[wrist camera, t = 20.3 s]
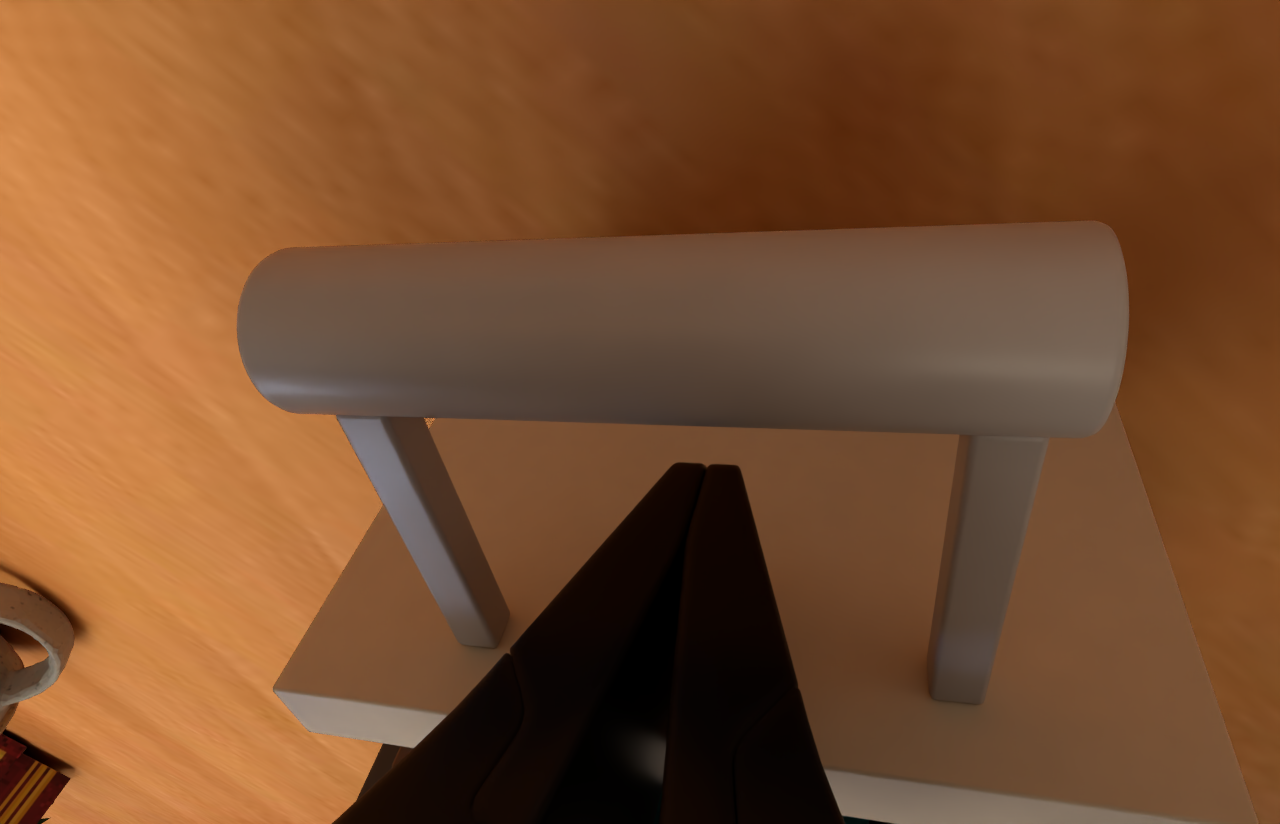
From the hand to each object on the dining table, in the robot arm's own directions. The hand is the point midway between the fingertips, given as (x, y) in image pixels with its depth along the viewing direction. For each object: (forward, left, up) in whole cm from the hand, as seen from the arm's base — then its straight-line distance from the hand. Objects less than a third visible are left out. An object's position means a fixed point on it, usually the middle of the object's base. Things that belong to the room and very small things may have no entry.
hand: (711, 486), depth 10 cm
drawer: (0, +5, -4) cm, 7 cm away
